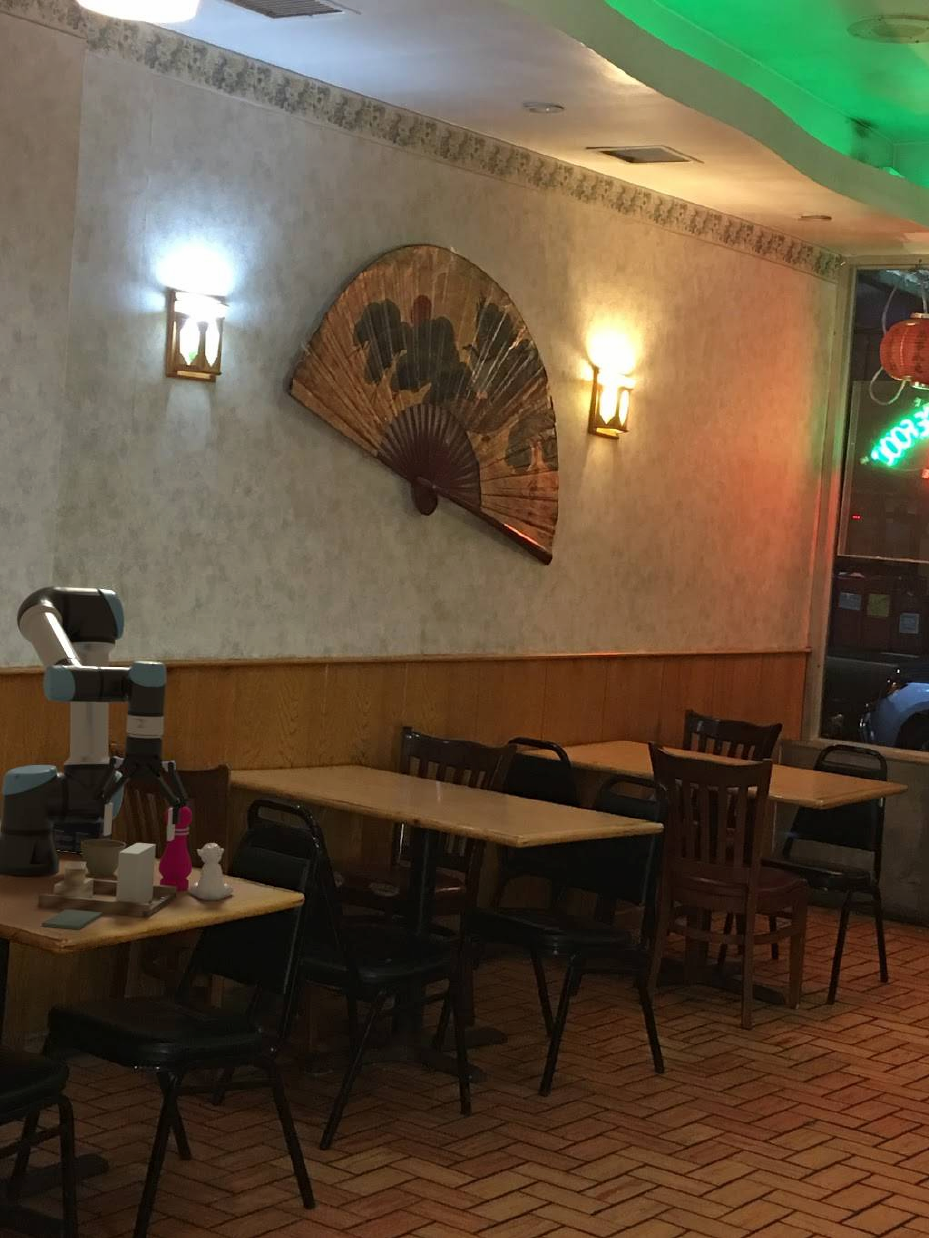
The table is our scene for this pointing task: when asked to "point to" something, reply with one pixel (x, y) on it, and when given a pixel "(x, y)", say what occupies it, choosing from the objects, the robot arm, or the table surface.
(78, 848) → the small box
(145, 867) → the block
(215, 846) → the seated beast figurine
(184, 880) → the pepper mill
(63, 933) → the table surface
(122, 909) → the wooden tray
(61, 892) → the offcut low
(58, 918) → the mat
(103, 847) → the flower pot
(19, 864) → the robot arm
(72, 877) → the offcut top
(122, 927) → the table surface
